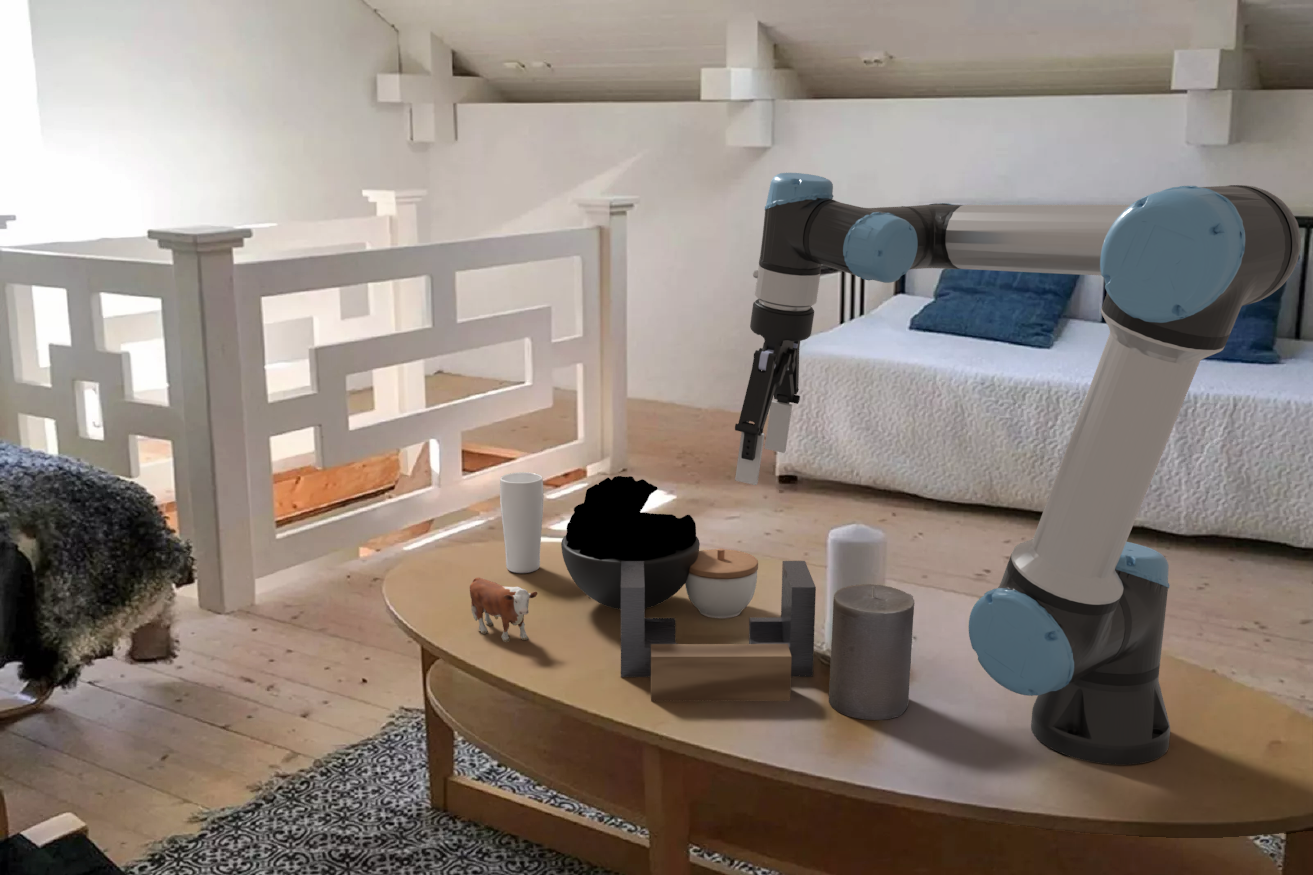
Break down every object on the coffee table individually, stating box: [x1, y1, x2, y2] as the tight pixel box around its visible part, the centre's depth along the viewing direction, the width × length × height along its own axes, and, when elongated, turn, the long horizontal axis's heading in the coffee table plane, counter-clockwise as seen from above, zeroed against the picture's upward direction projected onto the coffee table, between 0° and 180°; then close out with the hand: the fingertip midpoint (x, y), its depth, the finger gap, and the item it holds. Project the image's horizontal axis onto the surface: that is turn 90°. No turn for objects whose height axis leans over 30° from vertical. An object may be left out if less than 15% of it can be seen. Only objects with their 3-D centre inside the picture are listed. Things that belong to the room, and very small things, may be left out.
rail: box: [650, 643, 792, 702], centre depth 163 cm, size 4×17×6 cm, turn 91°
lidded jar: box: [684, 548, 759, 619], centre depth 190 cm, size 11×11×9 cm
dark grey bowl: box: [560, 475, 701, 611], centre depth 191 cm, size 20×20×19 cm
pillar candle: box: [828, 583, 915, 721], centre depth 159 cm, size 10×10×15 cm
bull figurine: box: [469, 577, 538, 643], centre depth 181 cm, size 4×13×8 cm, turn 41°
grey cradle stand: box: [620, 560, 817, 678], centre depth 172 cm, size 10×24×12 cm, turn 91°
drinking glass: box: [499, 471, 544, 574], centre depth 208 cm, size 7×7×15 cm
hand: (761, 465), depth 167 cm, fingers open, 13 cm apart
